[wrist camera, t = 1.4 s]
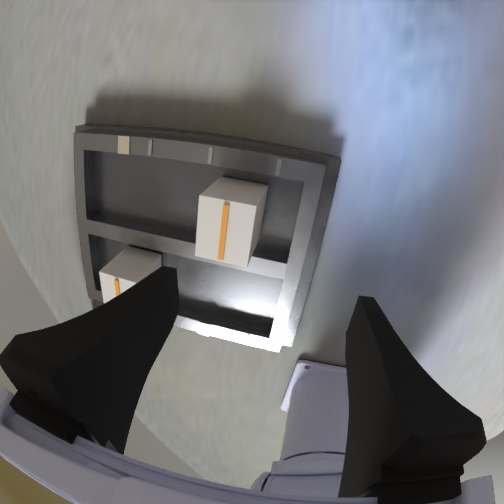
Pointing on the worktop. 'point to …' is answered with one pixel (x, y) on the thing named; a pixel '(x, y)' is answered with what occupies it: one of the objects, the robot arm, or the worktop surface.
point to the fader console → (185, 222)
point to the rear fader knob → (127, 271)
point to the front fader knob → (230, 220)
